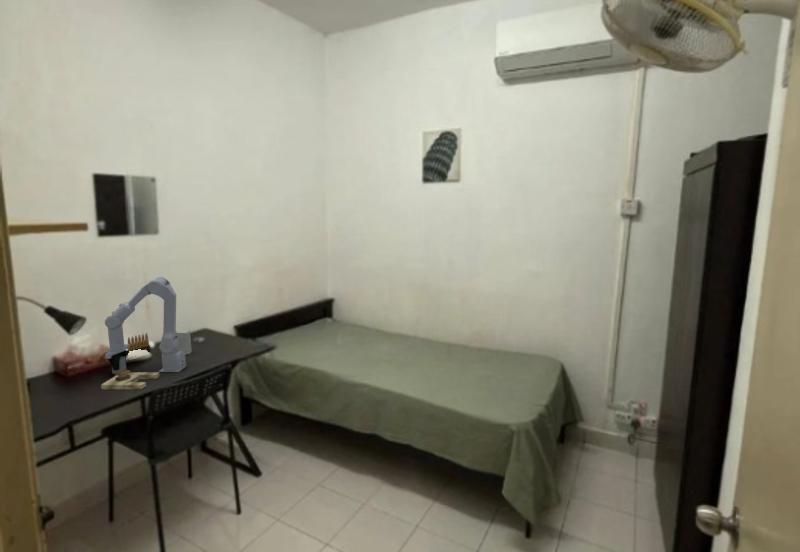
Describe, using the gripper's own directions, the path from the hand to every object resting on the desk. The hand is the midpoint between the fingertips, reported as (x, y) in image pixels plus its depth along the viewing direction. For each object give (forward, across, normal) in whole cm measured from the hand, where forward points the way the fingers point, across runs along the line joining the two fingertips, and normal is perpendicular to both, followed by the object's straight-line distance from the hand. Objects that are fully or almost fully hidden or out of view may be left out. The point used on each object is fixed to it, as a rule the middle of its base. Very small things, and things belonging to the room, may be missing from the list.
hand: (119, 368), depth 201 cm
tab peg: (+2, 0, 0) cm, 2 cm away
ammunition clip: (+2, -20, -2) cm, 20 cm away
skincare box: (+2, -26, +18) cm, 32 cm away
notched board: (+2, +12, +12) cm, 17 cm away
